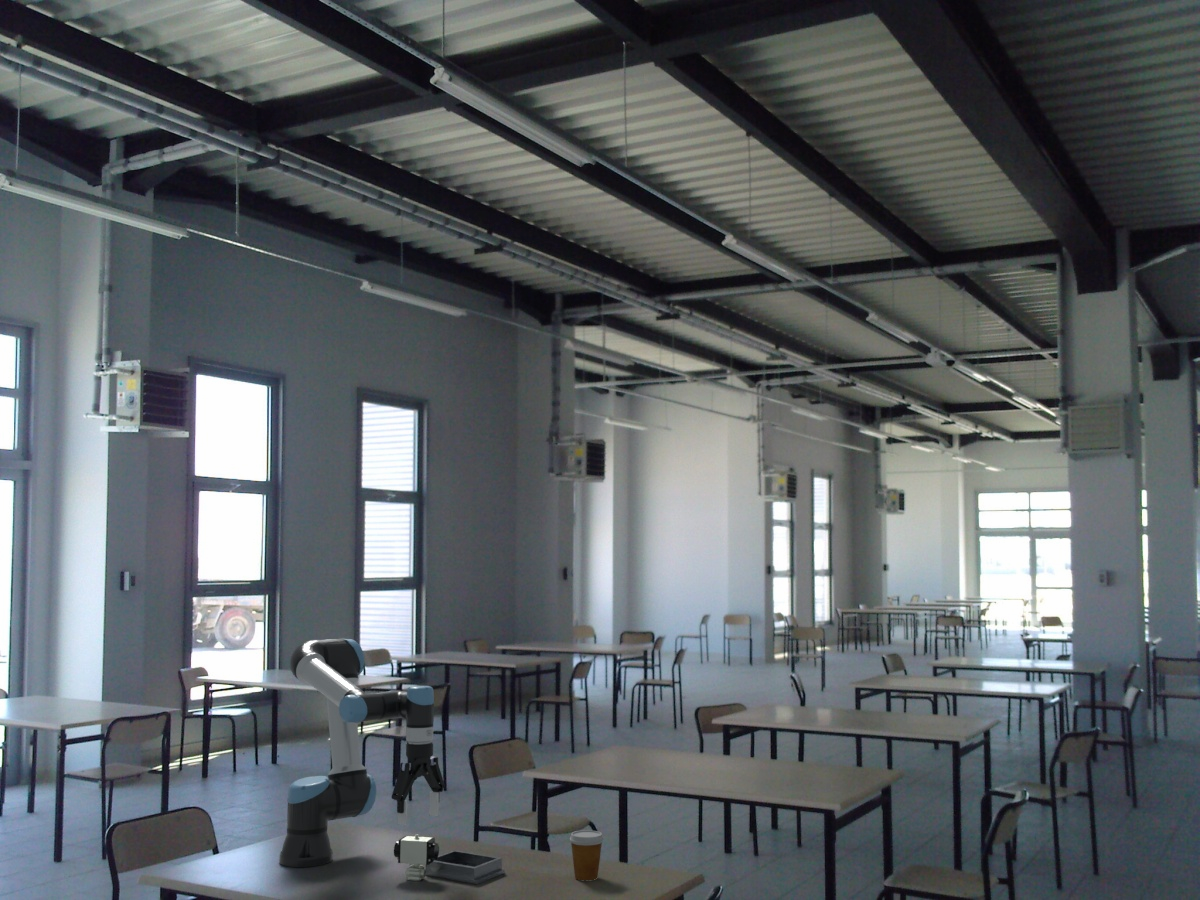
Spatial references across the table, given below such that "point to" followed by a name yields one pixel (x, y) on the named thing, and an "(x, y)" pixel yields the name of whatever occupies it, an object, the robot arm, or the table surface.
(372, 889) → the table surface
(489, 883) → the table surface
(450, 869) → the rectangular open-top bin
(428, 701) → the robot arm
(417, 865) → the pneumatic valve
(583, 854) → the disposable coffee cup
